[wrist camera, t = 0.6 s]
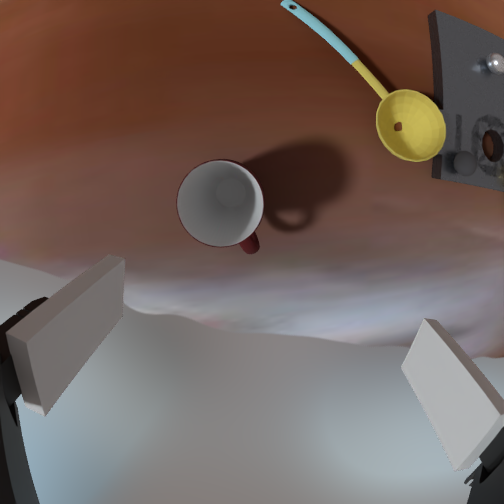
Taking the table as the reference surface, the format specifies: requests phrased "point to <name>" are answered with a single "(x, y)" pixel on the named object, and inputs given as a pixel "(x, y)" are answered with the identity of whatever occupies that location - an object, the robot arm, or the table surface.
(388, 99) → the ladle
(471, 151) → the grey flat slab
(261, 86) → the table surface
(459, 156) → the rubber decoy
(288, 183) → the table surface
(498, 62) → the steel ball
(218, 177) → the mug
